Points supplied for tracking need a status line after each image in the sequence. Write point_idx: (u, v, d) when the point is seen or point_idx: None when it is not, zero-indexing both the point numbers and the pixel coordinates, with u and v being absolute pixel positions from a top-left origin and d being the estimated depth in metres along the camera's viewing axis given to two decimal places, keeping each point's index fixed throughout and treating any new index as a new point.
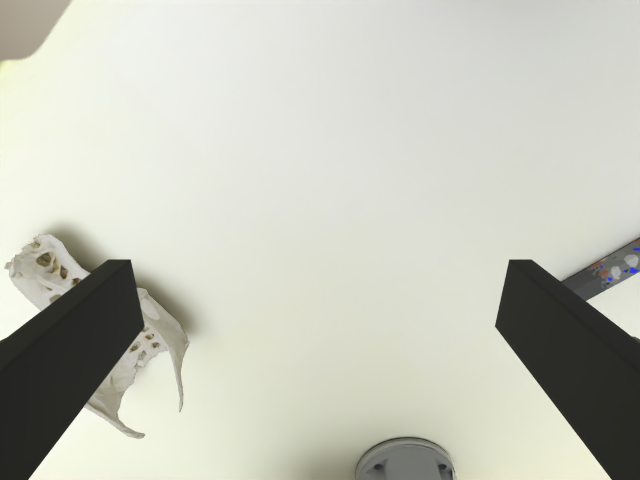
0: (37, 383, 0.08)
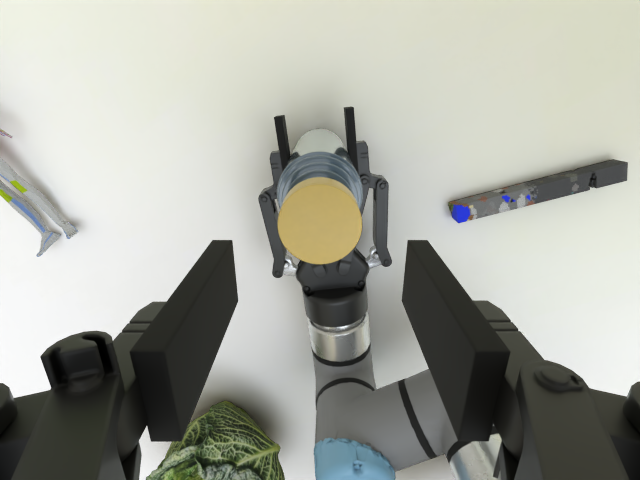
0: (195, 335, 0.10)
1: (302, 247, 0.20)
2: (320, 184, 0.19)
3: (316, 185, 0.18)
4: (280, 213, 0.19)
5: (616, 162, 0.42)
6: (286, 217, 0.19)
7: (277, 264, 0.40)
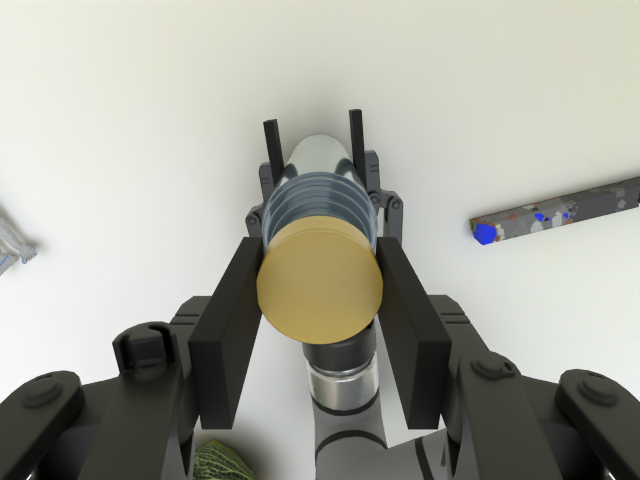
0: (239, 328, 0.10)
1: (293, 321, 0.13)
2: (320, 232, 0.12)
3: (314, 233, 0.12)
4: (259, 274, 0.13)
5: None
6: (269, 279, 0.13)
7: None
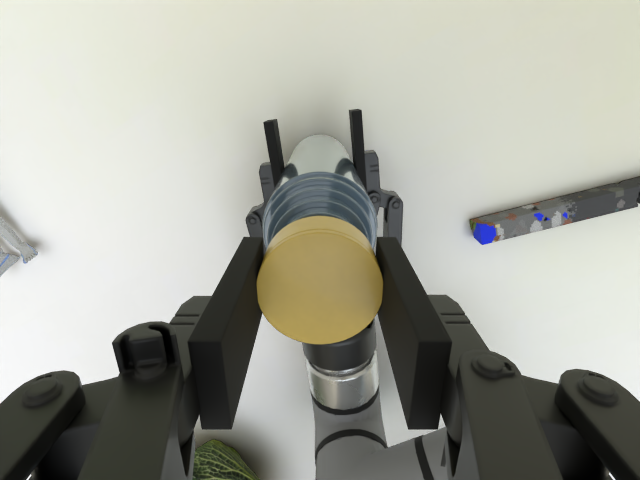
0: (239, 328, 0.10)
1: (363, 297, 0.13)
2: (266, 317, 0.13)
3: (270, 322, 0.13)
4: (331, 342, 0.14)
5: None
6: (331, 334, 0.13)
7: None
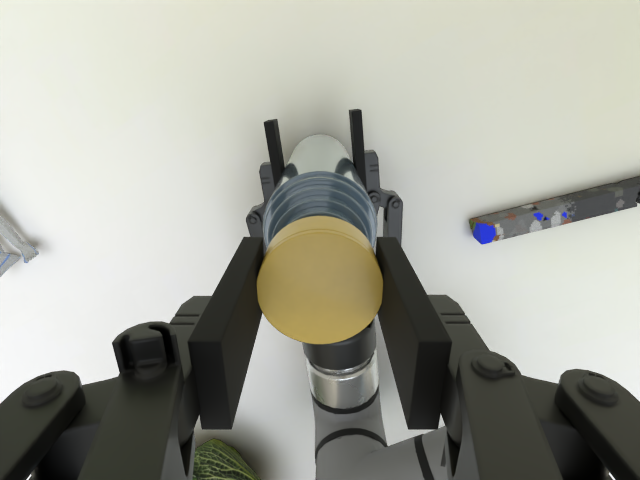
0: (239, 328, 0.10)
1: (302, 254, 0.12)
2: (372, 318, 0.13)
3: (374, 315, 0.13)
4: (368, 255, 0.12)
5: None
6: (358, 259, 0.12)
7: None
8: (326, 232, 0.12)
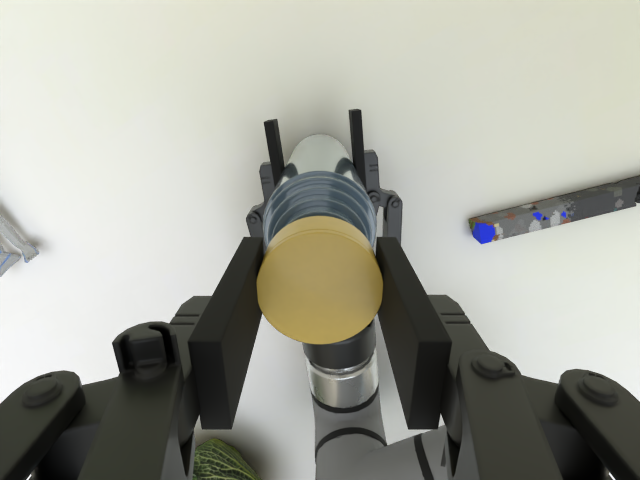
0: (239, 328, 0.10)
1: (293, 321, 0.13)
2: (321, 232, 0.12)
3: (315, 234, 0.12)
4: (260, 273, 0.13)
5: None
6: (269, 279, 0.13)
7: None
8: (263, 314, 0.13)
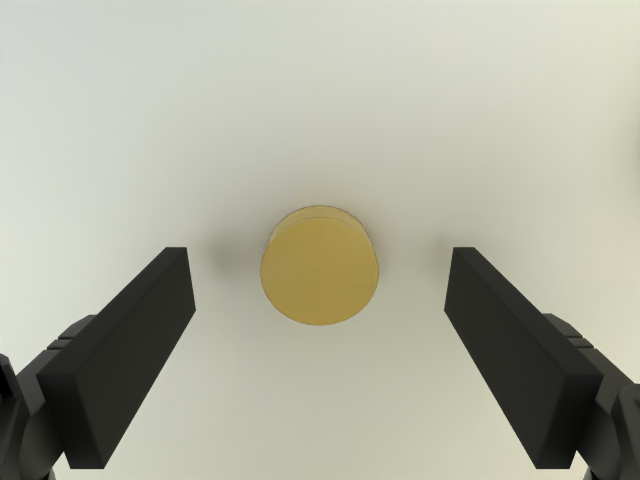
0: (127, 352, 0.09)
1: (295, 303, 0.14)
2: (320, 219, 0.13)
3: (315, 221, 0.13)
4: (264, 258, 0.14)
5: None
6: (272, 264, 0.14)
7: None
8: (267, 296, 0.14)
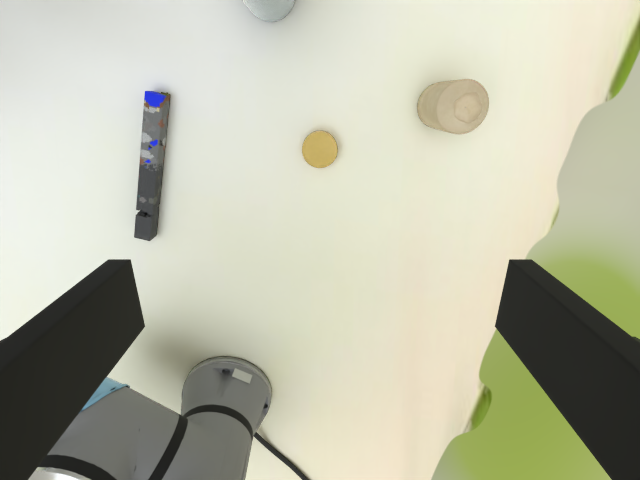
0: (37, 383, 0.08)
1: (312, 159, 0.47)
2: (320, 132, 0.46)
3: (318, 132, 0.46)
4: (303, 144, 0.46)
5: (152, 235, 0.51)
6: (306, 146, 0.46)
7: None
8: (304, 157, 0.47)
